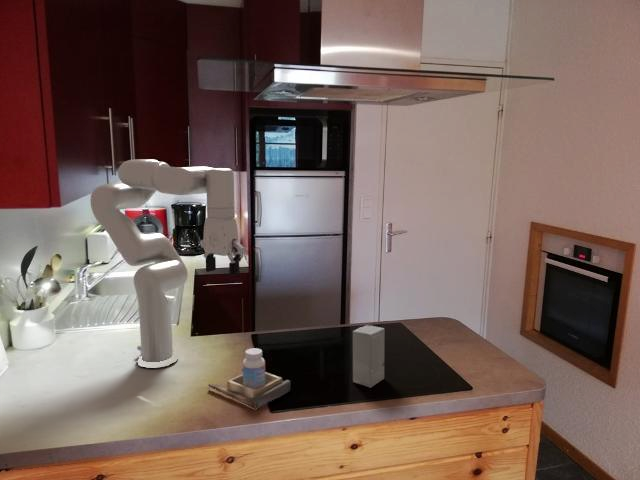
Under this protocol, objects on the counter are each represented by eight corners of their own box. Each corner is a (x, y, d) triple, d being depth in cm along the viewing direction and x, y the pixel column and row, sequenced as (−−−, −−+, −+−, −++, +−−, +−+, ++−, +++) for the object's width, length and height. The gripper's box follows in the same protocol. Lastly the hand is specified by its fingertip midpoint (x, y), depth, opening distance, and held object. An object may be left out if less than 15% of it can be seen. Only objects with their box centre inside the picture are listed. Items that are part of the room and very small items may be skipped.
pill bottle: (261, 395, 137) (261, 356, 135) (240, 393, 138) (239, 354, 136) (268, 385, 143) (267, 348, 141) (247, 383, 144) (246, 346, 142)
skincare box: (370, 388, 145) (372, 336, 142) (349, 381, 149) (350, 330, 146) (385, 378, 151) (387, 327, 149) (365, 372, 156) (366, 322, 153)
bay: (208, 392, 142) (208, 380, 141) (244, 375, 153) (244, 364, 152) (255, 412, 131) (254, 400, 131) (290, 392, 142) (290, 380, 142)
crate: (227, 394, 140) (227, 380, 139) (254, 380, 148) (254, 368, 147) (255, 406, 133) (255, 392, 133) (282, 391, 142) (282, 378, 141)
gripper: (189, 212, 143) (191, 271, 146) (232, 217, 133) (234, 281, 136) (210, 209, 149) (212, 266, 152) (253, 214, 138) (253, 275, 141)
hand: (222, 273), depth 144 cm, fingers open, 9 cm apart
